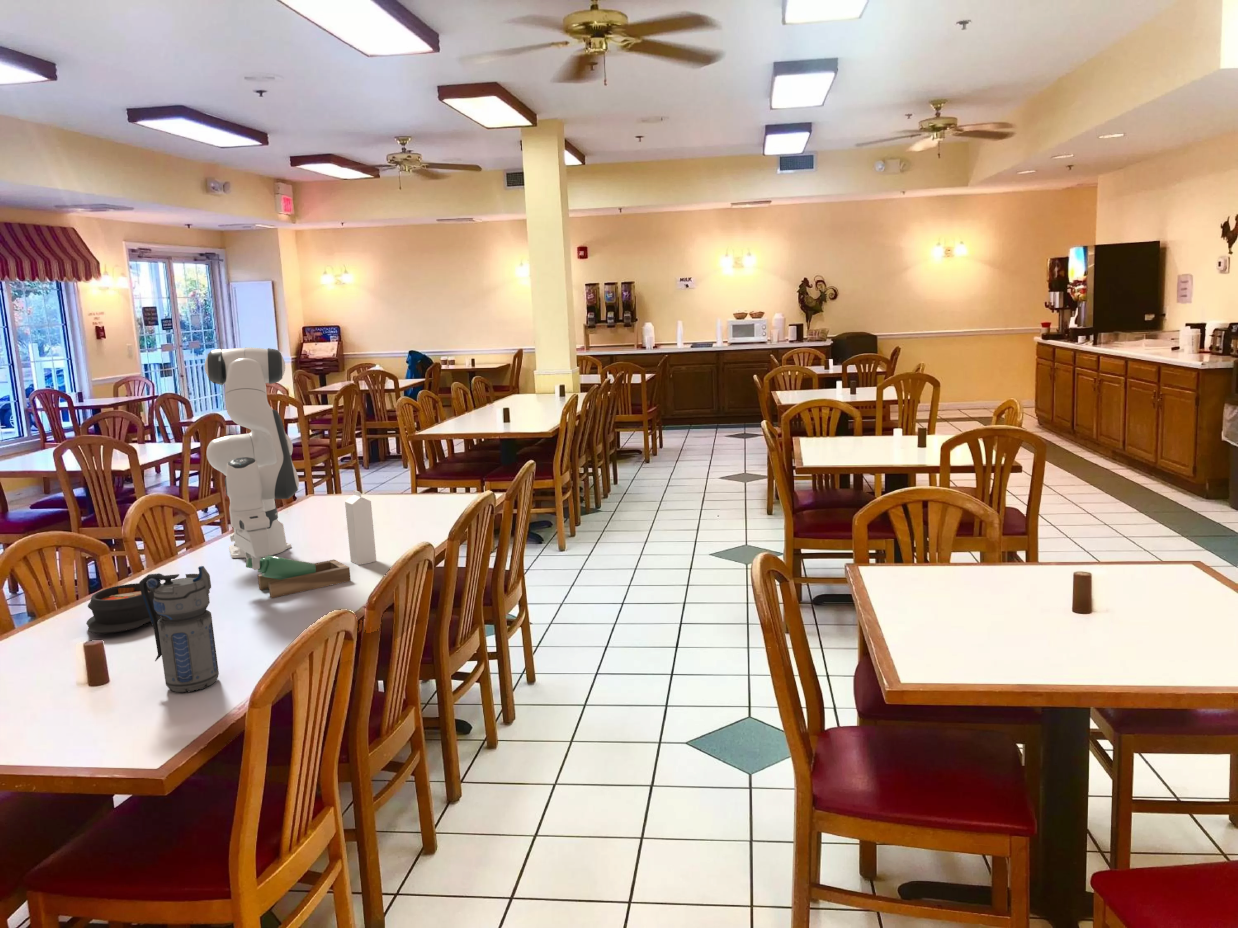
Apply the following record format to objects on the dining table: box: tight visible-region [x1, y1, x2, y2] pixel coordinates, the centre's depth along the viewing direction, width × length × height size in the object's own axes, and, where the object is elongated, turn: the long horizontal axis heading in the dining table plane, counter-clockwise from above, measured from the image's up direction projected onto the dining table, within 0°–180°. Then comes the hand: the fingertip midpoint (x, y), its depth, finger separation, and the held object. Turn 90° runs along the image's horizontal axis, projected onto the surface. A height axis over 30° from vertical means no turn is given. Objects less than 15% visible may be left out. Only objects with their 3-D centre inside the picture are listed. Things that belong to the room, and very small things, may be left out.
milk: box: [344, 489, 377, 566], centre depth 285 cm, size 6×6×22 cm
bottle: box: [245, 555, 316, 580], centre depth 259 cm, size 6×6×18 cm
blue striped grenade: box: [139, 565, 220, 693], centre depth 192 cm, size 10×13×25 cm
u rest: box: [257, 559, 352, 599], centre depth 264 cm, size 12×22×4 cm, turn 127°
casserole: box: [86, 582, 161, 634], centre depth 237 cm, size 25×19×8 cm
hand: (253, 567), depth 255 cm, fingers closed on bottle, 3 cm apart
